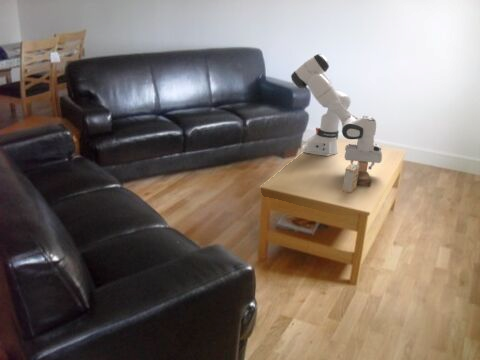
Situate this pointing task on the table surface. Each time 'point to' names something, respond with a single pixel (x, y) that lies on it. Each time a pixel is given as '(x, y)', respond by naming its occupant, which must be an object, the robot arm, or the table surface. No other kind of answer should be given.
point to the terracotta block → (362, 166)
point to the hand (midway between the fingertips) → (361, 168)
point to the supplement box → (350, 178)
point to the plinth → (363, 179)
